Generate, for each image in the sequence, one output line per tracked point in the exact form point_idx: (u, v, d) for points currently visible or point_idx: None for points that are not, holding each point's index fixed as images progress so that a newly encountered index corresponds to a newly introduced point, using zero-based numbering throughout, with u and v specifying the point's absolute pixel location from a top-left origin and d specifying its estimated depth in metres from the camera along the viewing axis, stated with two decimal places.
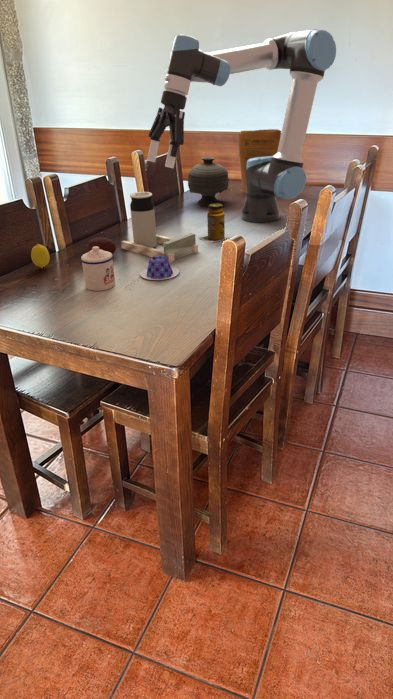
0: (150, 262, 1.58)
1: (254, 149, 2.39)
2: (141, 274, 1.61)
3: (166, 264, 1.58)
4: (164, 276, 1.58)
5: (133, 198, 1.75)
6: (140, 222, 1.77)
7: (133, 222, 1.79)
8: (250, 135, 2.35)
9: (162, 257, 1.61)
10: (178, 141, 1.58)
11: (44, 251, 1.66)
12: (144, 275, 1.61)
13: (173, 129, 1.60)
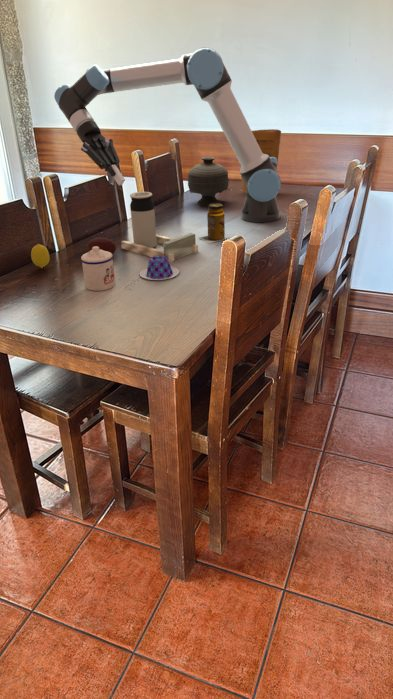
0: (150, 262, 1.58)
1: None
2: (141, 274, 1.61)
3: (166, 264, 1.58)
4: (163, 276, 1.58)
5: (133, 198, 1.75)
6: (140, 222, 1.77)
7: (133, 222, 1.79)
8: None
9: (162, 257, 1.61)
10: (101, 167, 1.79)
11: (44, 251, 1.65)
12: (144, 275, 1.61)
13: None
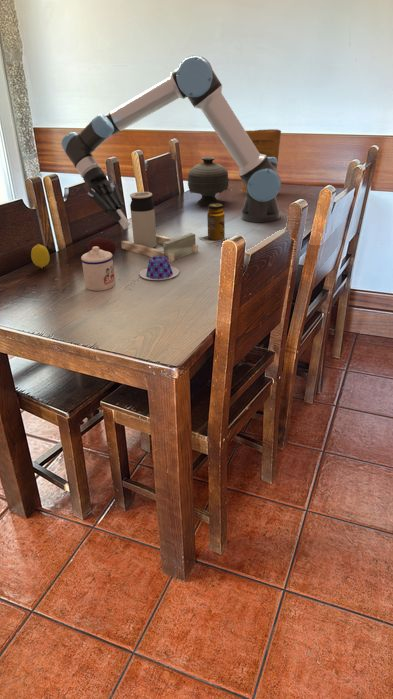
0: (149, 262, 1.58)
1: None
2: (141, 274, 1.61)
3: (165, 264, 1.58)
4: (163, 276, 1.58)
5: (133, 198, 1.75)
6: (140, 222, 1.77)
7: (133, 222, 1.79)
8: (250, 135, 2.35)
9: (162, 257, 1.60)
10: (107, 212, 1.87)
11: (44, 251, 1.65)
12: (144, 275, 1.61)
13: (104, 202, 1.88)
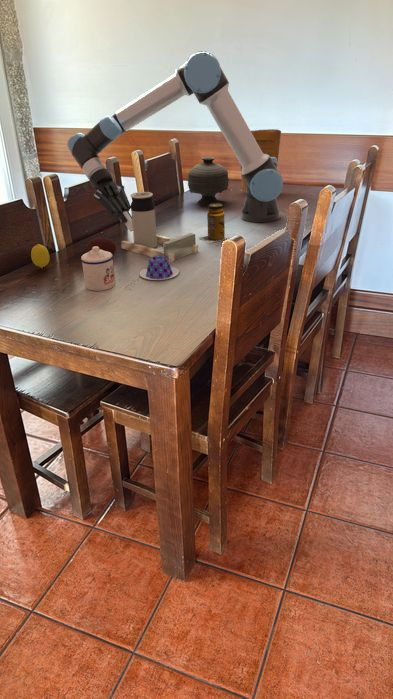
0: (149, 262, 1.58)
1: None
2: (141, 273, 1.61)
3: (165, 264, 1.58)
4: (163, 276, 1.58)
5: (134, 198, 1.74)
6: (141, 222, 1.77)
7: (134, 222, 1.79)
8: None
9: (162, 257, 1.60)
10: (113, 214, 1.84)
11: (44, 251, 1.65)
12: (144, 274, 1.61)
13: (111, 204, 1.85)
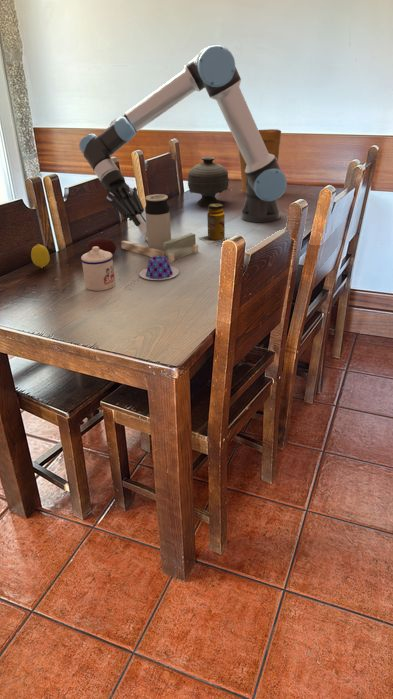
0: (149, 262, 1.58)
1: None
2: (141, 273, 1.61)
3: (165, 264, 1.58)
4: (162, 276, 1.58)
5: (149, 201, 1.70)
6: (157, 225, 1.73)
7: (149, 226, 1.74)
8: None
9: (162, 257, 1.60)
10: (126, 217, 1.80)
11: (43, 251, 1.65)
12: (143, 274, 1.61)
13: (123, 206, 1.81)
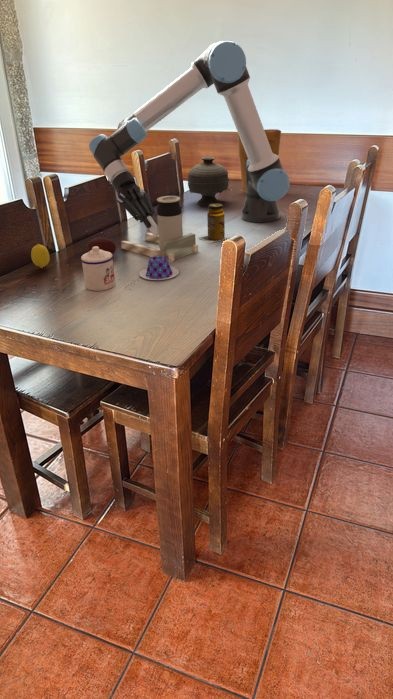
0: (149, 262, 1.58)
1: None
2: (141, 273, 1.61)
3: (164, 265, 1.58)
4: (162, 276, 1.58)
5: (162, 203, 1.68)
6: (170, 227, 1.71)
7: (161, 228, 1.72)
8: None
9: (162, 257, 1.60)
10: (137, 219, 1.77)
11: (44, 251, 1.65)
12: (143, 274, 1.61)
13: None
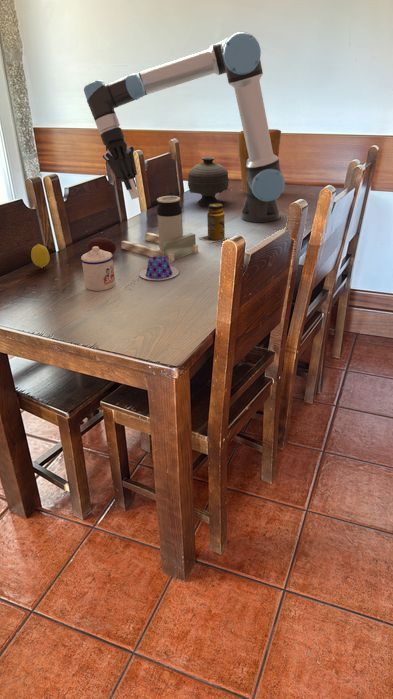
0: (149, 262, 1.58)
1: None
2: (141, 273, 1.62)
3: (164, 265, 1.57)
4: (161, 277, 1.58)
5: (162, 203, 1.68)
6: (170, 227, 1.71)
7: (161, 228, 1.72)
8: None
9: (162, 257, 1.60)
10: (119, 179, 1.83)
11: (44, 251, 1.65)
12: (143, 274, 1.61)
13: (118, 167, 1.83)
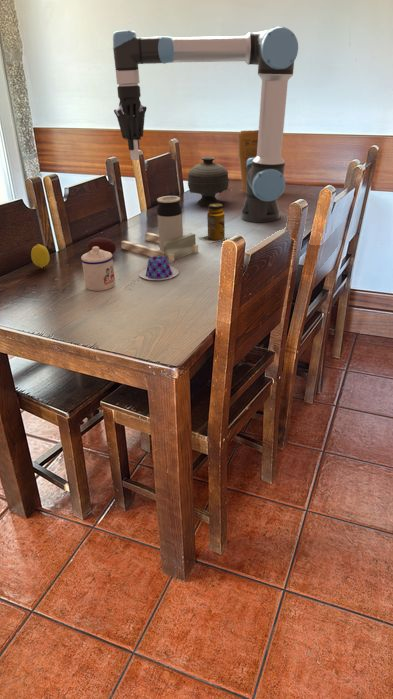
0: (149, 262, 1.58)
1: (254, 149, 2.39)
2: (141, 273, 1.62)
3: (164, 265, 1.57)
4: (161, 277, 1.58)
5: (162, 203, 1.68)
6: (170, 227, 1.71)
7: (161, 228, 1.72)
8: (250, 135, 2.35)
9: (162, 257, 1.60)
10: (124, 137, 1.81)
11: (43, 251, 1.66)
12: (143, 274, 1.61)
13: (126, 124, 1.80)
